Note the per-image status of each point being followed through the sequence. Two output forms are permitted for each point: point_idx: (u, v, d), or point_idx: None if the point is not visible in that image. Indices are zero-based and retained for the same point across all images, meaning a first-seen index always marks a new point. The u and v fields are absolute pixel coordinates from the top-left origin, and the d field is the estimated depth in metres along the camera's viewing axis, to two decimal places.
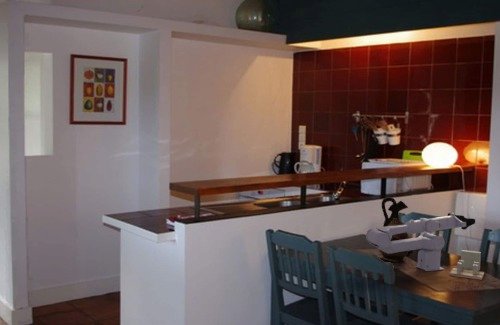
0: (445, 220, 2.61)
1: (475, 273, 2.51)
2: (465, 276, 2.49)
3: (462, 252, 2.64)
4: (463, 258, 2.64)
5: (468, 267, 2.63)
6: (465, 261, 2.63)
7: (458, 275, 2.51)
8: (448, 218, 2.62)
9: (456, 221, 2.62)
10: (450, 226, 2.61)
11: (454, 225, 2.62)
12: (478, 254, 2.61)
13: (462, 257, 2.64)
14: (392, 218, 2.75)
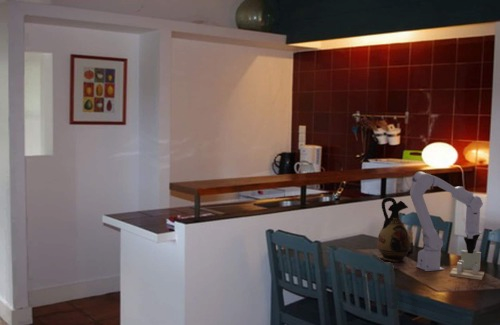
0: (478, 220, 2.60)
1: (475, 273, 2.51)
2: (465, 276, 2.49)
3: (462, 252, 2.64)
4: (463, 258, 2.64)
5: (468, 267, 2.63)
6: (465, 261, 2.63)
7: (458, 275, 2.51)
8: (477, 225, 2.59)
9: (473, 232, 2.59)
10: (468, 225, 2.60)
11: (468, 230, 2.60)
12: (478, 254, 2.61)
13: (462, 257, 2.64)
14: (392, 218, 2.75)
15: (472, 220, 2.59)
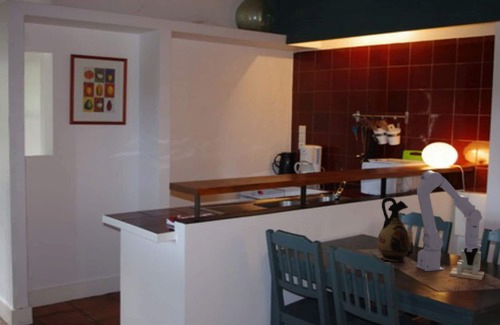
0: (477, 234, 2.60)
1: (475, 273, 2.51)
2: (465, 276, 2.49)
3: (462, 252, 2.64)
4: (463, 258, 2.64)
5: (468, 267, 2.63)
6: (465, 261, 2.63)
7: (458, 275, 2.51)
8: (476, 238, 2.60)
9: (472, 246, 2.60)
10: (467, 239, 2.61)
11: (468, 243, 2.61)
12: (478, 254, 2.61)
13: (462, 257, 2.64)
14: (392, 218, 2.75)
15: (471, 233, 2.60)
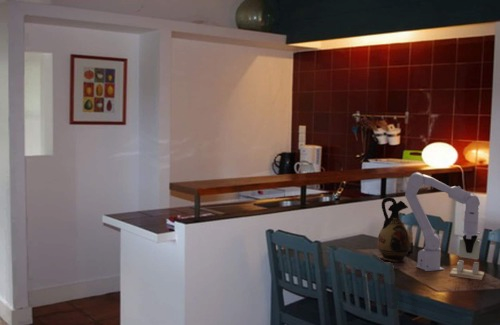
0: (475, 221, 2.54)
1: (475, 273, 2.51)
2: (465, 276, 2.49)
3: (461, 240, 2.58)
4: (462, 246, 2.58)
5: (467, 255, 2.57)
6: (463, 249, 2.57)
7: (458, 275, 2.51)
8: (475, 225, 2.54)
9: (471, 233, 2.54)
10: (467, 226, 2.55)
11: (467, 230, 2.55)
12: (477, 242, 2.55)
13: (461, 245, 2.58)
14: (392, 218, 2.75)
15: (468, 220, 2.54)
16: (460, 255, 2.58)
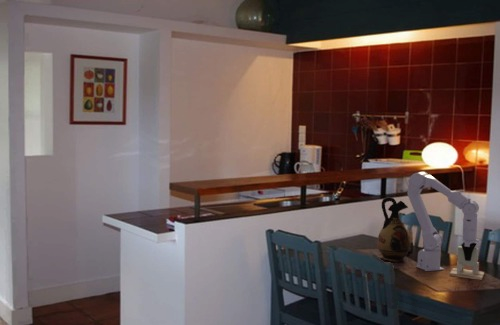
0: (472, 228, 2.50)
1: (475, 273, 2.51)
2: (465, 276, 2.49)
3: (459, 248, 2.55)
4: (460, 254, 2.55)
5: (465, 264, 2.54)
6: (461, 257, 2.54)
7: (458, 275, 2.51)
8: (474, 233, 2.51)
9: (470, 240, 2.51)
10: (465, 233, 2.52)
11: (465, 238, 2.52)
12: (475, 250, 2.52)
13: (459, 253, 2.55)
14: (392, 218, 2.75)
15: (465, 227, 2.52)
16: None
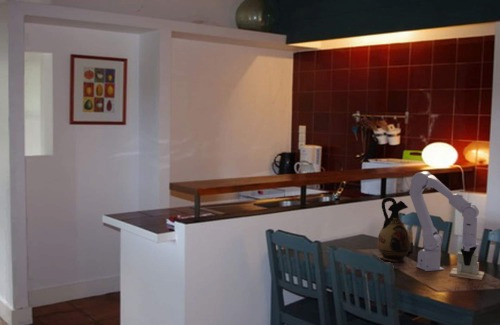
0: (472, 232, 2.51)
1: (475, 273, 2.51)
2: (465, 276, 2.49)
3: (458, 254, 2.55)
4: (459, 260, 2.55)
5: (465, 270, 2.54)
6: None
7: (458, 275, 2.51)
8: (474, 237, 2.51)
9: (469, 244, 2.51)
10: (465, 237, 2.52)
11: (465, 242, 2.52)
12: (475, 256, 2.52)
13: (458, 259, 2.55)
14: (392, 218, 2.75)
15: (465, 231, 2.52)
16: None
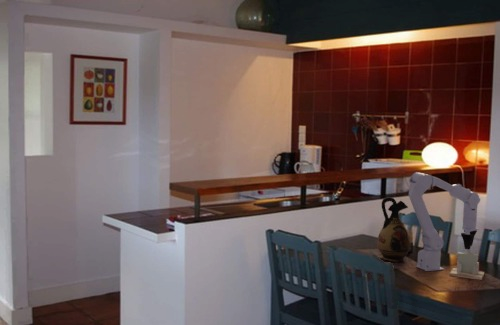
0: (475, 216, 2.61)
1: (475, 273, 2.51)
2: (465, 276, 2.49)
3: (458, 254, 2.55)
4: (459, 260, 2.55)
5: (465, 270, 2.54)
6: None
7: (458, 275, 2.51)
8: (474, 221, 2.61)
9: (470, 228, 2.61)
10: (465, 221, 2.62)
11: (466, 226, 2.62)
12: (475, 256, 2.52)
13: (458, 259, 2.55)
14: (392, 218, 2.75)
15: (470, 216, 2.61)
16: None
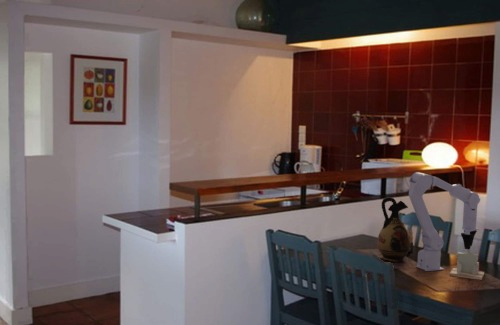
0: (475, 216, 2.62)
1: (475, 273, 2.51)
2: (465, 276, 2.49)
3: (458, 254, 2.55)
4: (459, 260, 2.55)
5: (465, 270, 2.54)
6: None
7: (458, 275, 2.51)
8: (474, 221, 2.61)
9: (470, 228, 2.61)
10: (465, 221, 2.62)
11: (466, 226, 2.62)
12: (475, 256, 2.52)
13: (458, 259, 2.55)
14: (392, 218, 2.75)
15: (470, 216, 2.61)
16: None
